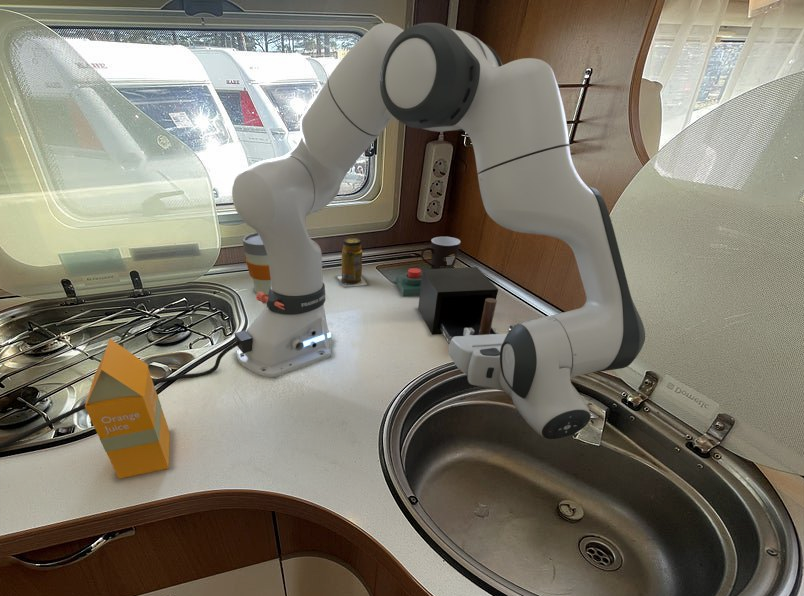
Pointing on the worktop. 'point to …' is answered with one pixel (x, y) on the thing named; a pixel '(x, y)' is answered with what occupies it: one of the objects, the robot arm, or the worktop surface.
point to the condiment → (351, 263)
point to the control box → (408, 285)
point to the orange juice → (128, 414)
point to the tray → (470, 323)
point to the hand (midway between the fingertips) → (490, 329)
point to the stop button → (414, 273)
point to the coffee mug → (443, 252)
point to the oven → (453, 294)
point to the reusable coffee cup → (257, 262)
